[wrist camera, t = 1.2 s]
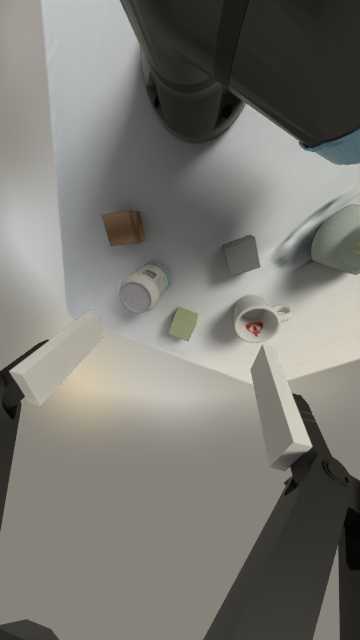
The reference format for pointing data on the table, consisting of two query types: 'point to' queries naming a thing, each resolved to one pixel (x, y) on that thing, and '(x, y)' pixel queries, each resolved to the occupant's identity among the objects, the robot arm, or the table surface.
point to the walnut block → (124, 227)
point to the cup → (258, 319)
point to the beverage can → (144, 287)
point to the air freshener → (339, 241)
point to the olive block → (183, 324)
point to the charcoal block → (241, 255)
